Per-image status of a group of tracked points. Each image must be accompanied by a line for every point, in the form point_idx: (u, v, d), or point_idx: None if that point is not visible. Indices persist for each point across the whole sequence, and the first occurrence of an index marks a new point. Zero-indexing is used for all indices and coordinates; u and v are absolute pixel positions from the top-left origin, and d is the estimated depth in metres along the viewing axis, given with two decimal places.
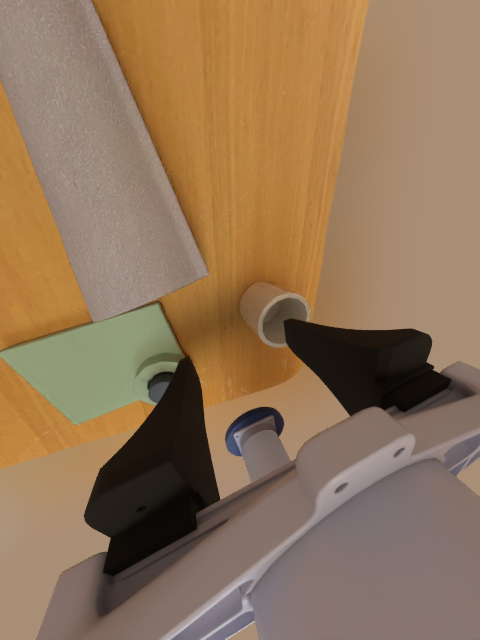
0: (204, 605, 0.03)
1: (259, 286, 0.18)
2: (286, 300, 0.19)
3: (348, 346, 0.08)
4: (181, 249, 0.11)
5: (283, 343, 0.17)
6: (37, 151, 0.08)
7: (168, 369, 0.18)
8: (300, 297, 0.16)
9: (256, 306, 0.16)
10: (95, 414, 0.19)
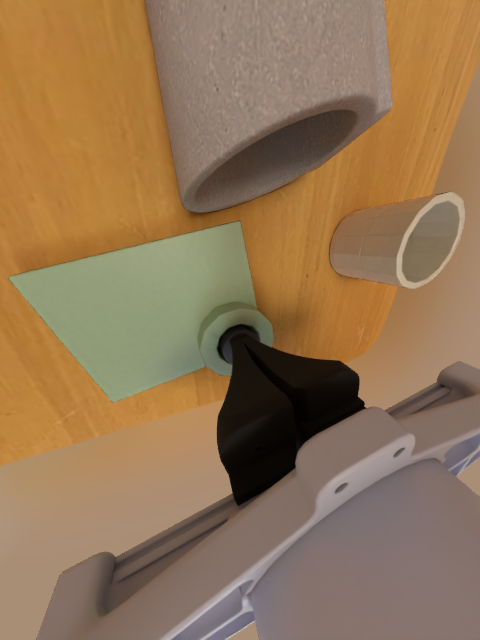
0: (204, 605, 0.03)
1: (372, 207, 0.13)
2: None
3: (277, 377, 0.07)
4: (371, 28, 0.06)
5: (415, 282, 0.12)
6: None
7: (247, 321, 0.12)
8: (461, 204, 0.10)
9: (388, 222, 0.11)
10: (140, 387, 0.14)
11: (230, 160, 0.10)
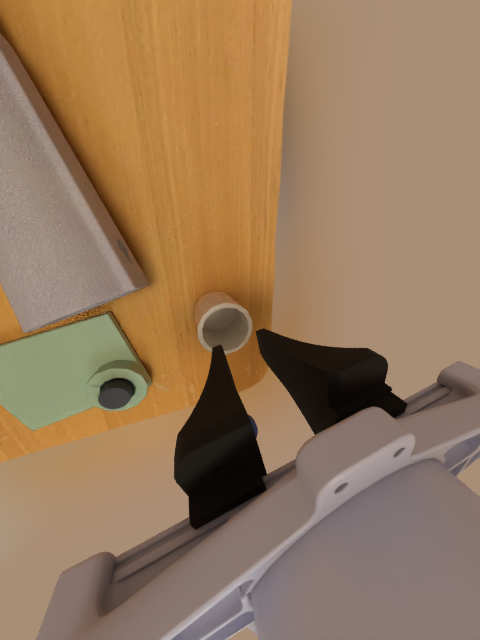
0: (204, 604, 0.03)
1: (208, 296, 0.19)
2: (236, 309, 0.21)
3: (305, 365, 0.07)
4: (104, 266, 0.12)
5: (227, 350, 0.18)
6: None
7: (120, 376, 0.19)
8: (238, 307, 0.17)
9: (198, 315, 0.17)
10: (52, 420, 0.20)
11: None
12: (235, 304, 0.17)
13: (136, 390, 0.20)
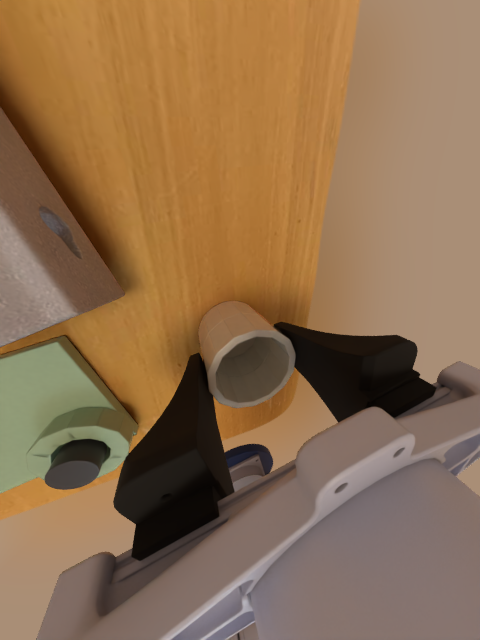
0: (204, 604, 0.03)
1: (221, 311, 0.12)
2: None
3: (334, 352, 0.07)
4: None
5: (253, 400, 0.11)
6: None
7: (83, 436, 0.12)
8: (277, 335, 0.10)
9: (208, 347, 0.10)
10: None
11: None
12: (272, 331, 0.10)
13: (112, 452, 0.13)
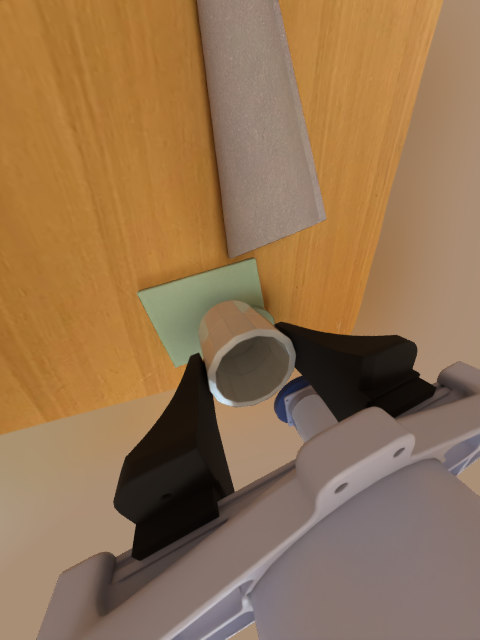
0: (204, 605, 0.03)
1: (221, 310, 0.12)
2: None
3: (334, 352, 0.07)
4: (312, 195, 0.14)
5: (254, 399, 0.11)
6: (237, 113, 0.11)
7: None
8: (277, 334, 0.10)
9: (208, 347, 0.10)
10: None
11: None
12: (273, 330, 0.10)
13: None
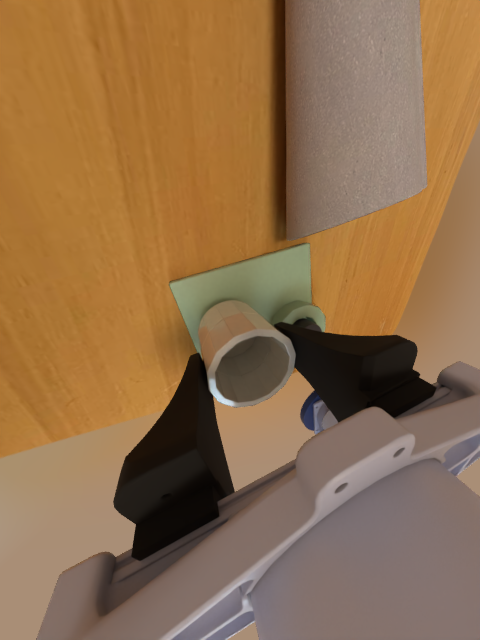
0: (204, 605, 0.03)
1: (221, 310, 0.12)
2: None
3: (334, 352, 0.07)
4: None
5: (253, 399, 0.11)
6: (345, 15, 0.08)
7: (310, 314, 0.17)
8: (277, 334, 0.10)
9: (208, 347, 0.10)
10: None
11: None
12: (272, 330, 0.10)
13: None
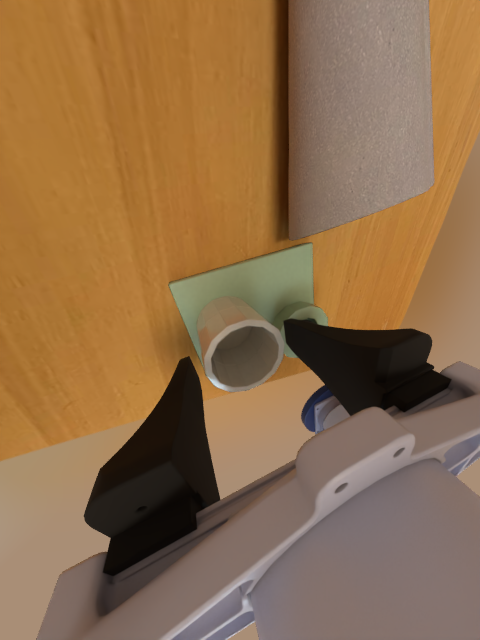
0: (204, 604, 0.03)
1: (217, 304, 0.13)
2: None
3: (348, 346, 0.08)
4: None
5: (246, 385, 0.12)
6: (352, 4, 0.07)
7: (312, 316, 0.17)
8: (266, 325, 0.11)
9: (205, 336, 0.11)
10: None
11: None
12: (262, 321, 0.11)
13: None
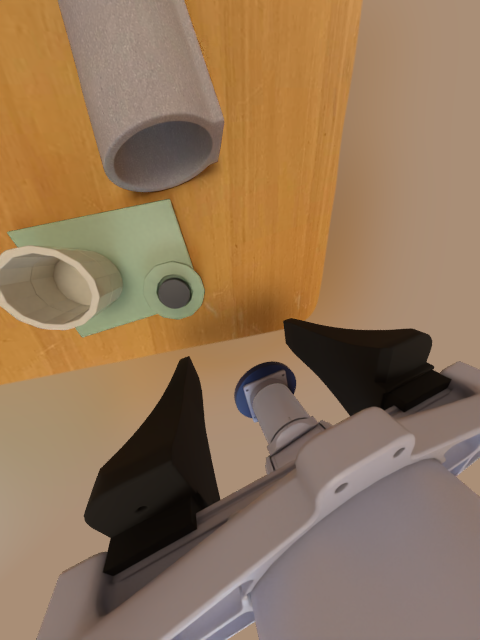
0: (204, 605, 0.03)
1: None
2: None
3: (348, 346, 0.08)
4: (196, 79, 0.10)
5: (63, 324, 0.12)
6: None
7: (179, 273, 0.17)
8: (58, 254, 0.11)
9: None
10: (102, 326, 0.18)
11: (156, 157, 0.15)
12: (51, 250, 0.11)
13: (193, 295, 0.18)
